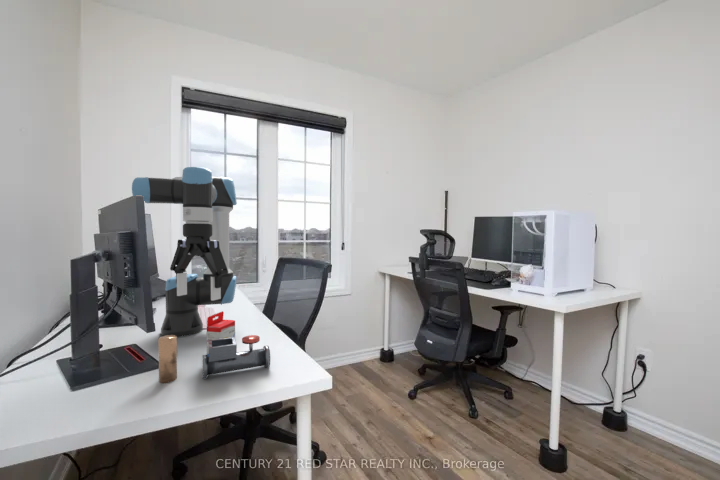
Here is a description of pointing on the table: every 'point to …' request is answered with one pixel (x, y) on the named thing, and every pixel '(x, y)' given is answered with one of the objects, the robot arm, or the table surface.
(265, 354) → the valve body
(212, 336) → the ink box
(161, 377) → the pipe stub
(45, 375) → the table surface
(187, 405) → the table surface
